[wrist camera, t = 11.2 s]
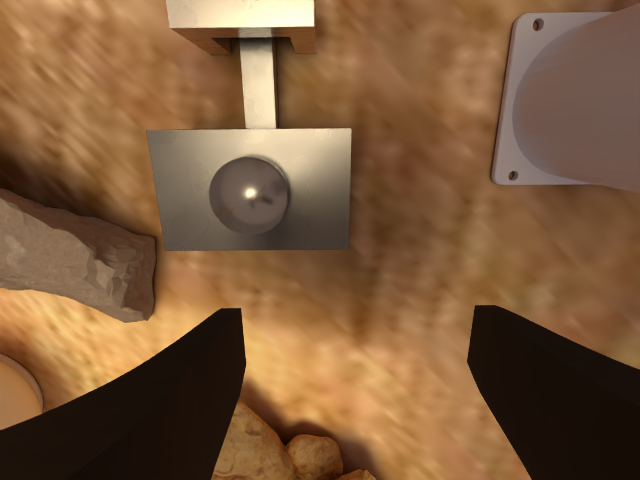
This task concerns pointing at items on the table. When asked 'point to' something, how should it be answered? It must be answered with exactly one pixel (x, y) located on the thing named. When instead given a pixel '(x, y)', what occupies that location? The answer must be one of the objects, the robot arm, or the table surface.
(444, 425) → the table surface
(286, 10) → the notched block with hole
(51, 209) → the concrete fragment
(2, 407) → the lidded bowl
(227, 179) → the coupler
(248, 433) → the ginger root
